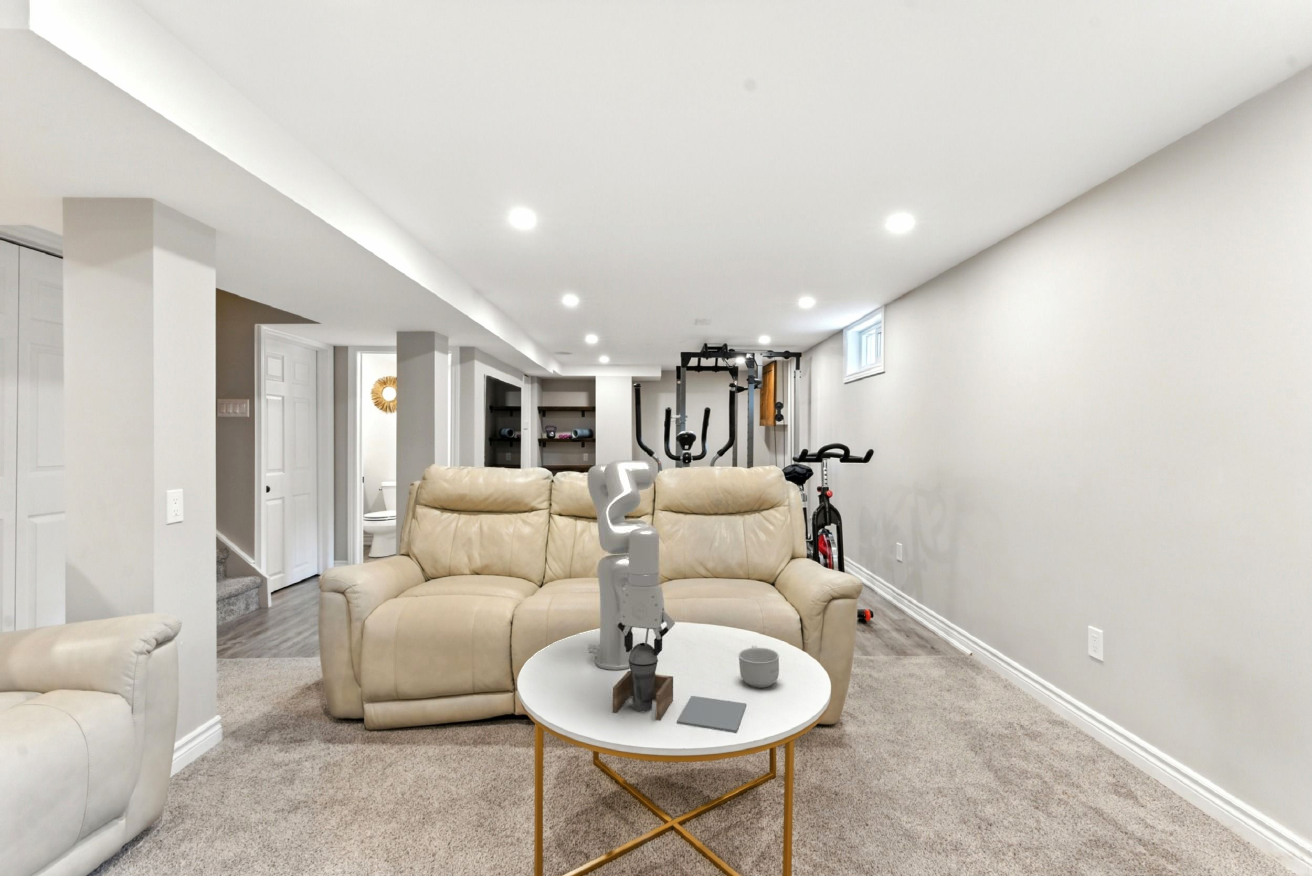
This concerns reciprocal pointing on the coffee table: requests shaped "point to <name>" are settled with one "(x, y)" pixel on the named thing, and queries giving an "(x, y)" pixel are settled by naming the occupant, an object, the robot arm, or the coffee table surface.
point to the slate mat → (712, 713)
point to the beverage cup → (643, 675)
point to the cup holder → (661, 694)
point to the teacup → (759, 666)
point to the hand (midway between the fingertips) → (643, 651)
